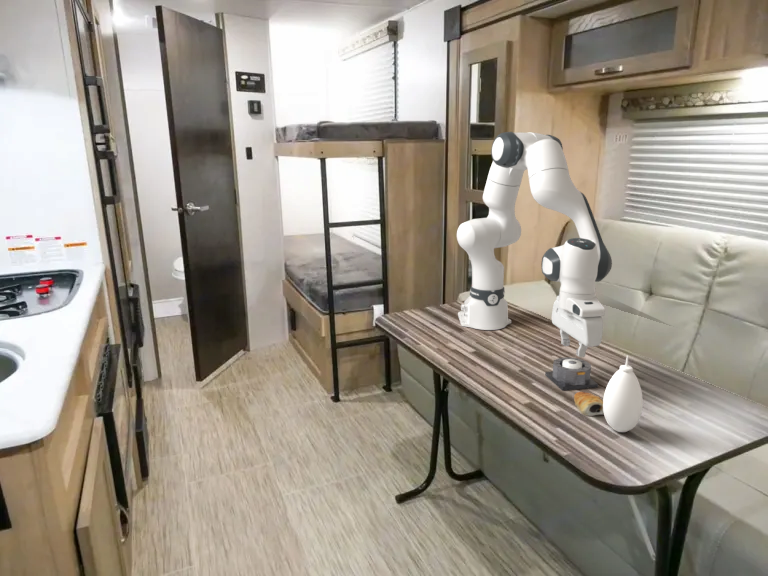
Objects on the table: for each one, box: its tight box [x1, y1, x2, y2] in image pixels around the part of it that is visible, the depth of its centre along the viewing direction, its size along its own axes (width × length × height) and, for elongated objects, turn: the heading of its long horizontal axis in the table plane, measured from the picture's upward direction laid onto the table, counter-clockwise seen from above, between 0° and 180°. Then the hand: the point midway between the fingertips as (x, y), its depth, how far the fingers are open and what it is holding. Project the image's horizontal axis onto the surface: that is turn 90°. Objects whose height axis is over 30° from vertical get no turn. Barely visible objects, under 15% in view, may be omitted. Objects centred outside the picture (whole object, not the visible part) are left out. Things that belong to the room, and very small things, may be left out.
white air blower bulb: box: [602, 355, 644, 433], centre depth 114 cm, size 8×8×18 cm
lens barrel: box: [545, 356, 599, 391], centre depth 141 cm, size 10×10×5 cm
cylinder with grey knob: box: [562, 359, 582, 369], centre depth 141 cm, size 5×5×5 cm
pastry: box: [573, 391, 604, 417], centre depth 127 cm, size 9×7×4 cm
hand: (572, 350), depth 140 cm, fingers open, 7 cm apart
